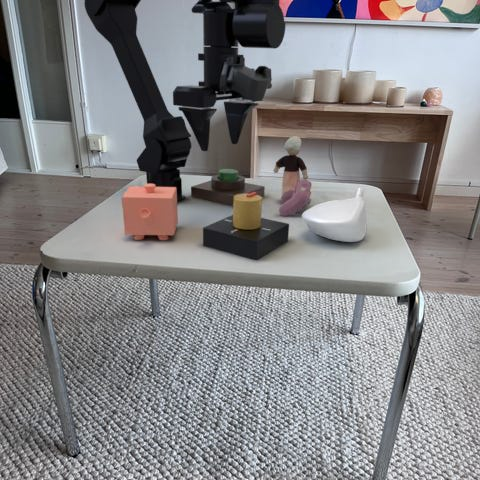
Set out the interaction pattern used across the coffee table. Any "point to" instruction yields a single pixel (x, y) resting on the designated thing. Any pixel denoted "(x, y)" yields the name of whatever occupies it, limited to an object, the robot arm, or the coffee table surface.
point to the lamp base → (224, 190)
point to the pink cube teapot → (150, 211)
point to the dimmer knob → (247, 211)
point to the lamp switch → (228, 174)
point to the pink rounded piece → (296, 198)
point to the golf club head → (339, 218)
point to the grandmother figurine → (291, 165)
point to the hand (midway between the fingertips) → (220, 147)
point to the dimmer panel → (245, 237)
